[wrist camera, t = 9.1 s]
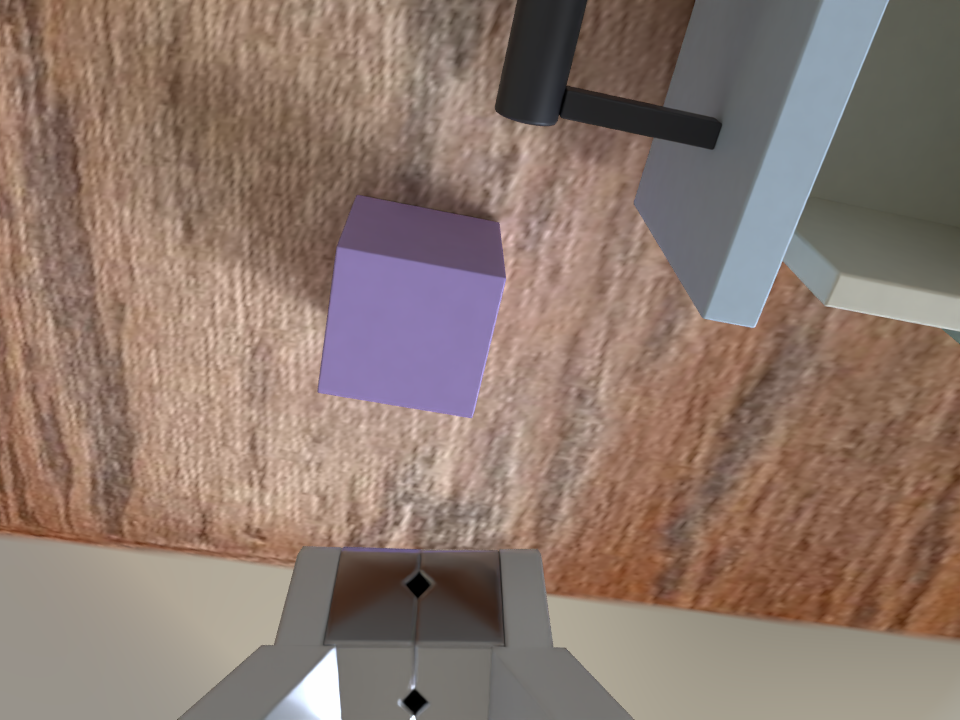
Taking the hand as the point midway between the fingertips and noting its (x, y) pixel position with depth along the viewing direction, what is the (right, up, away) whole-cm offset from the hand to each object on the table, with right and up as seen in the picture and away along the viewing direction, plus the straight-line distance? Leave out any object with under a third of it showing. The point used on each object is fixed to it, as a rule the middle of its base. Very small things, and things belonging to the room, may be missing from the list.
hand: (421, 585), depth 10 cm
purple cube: (-1, +6, +15) cm, 16 cm away
